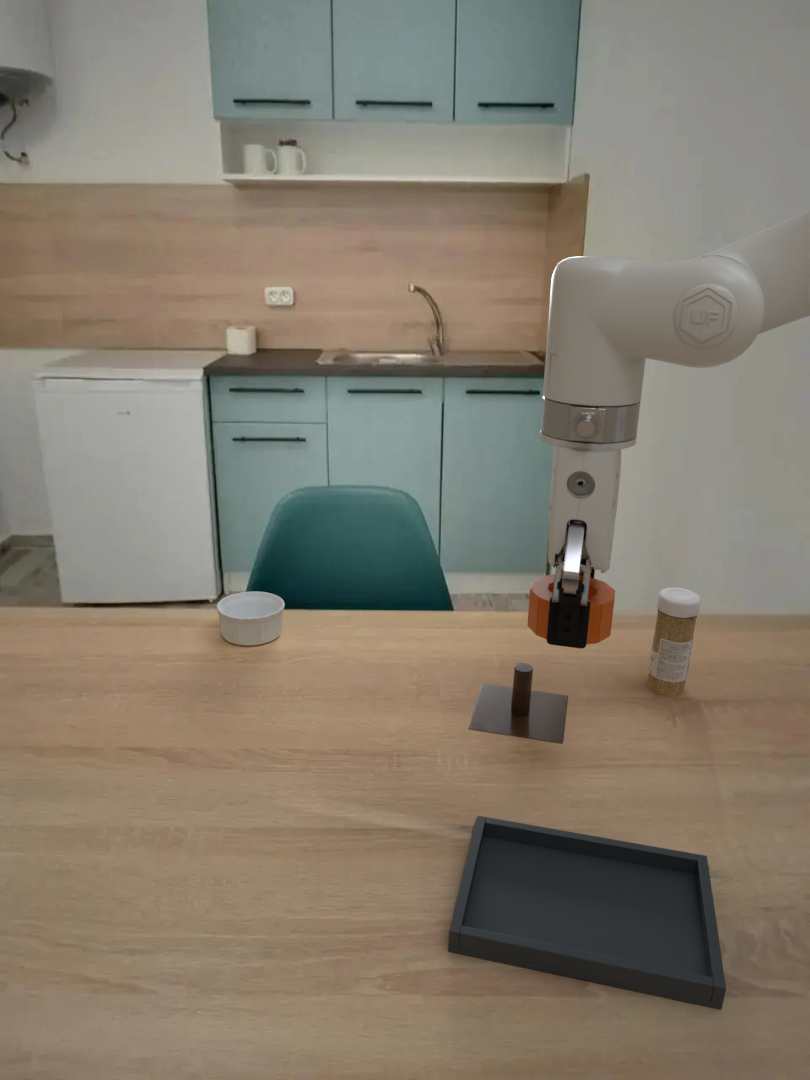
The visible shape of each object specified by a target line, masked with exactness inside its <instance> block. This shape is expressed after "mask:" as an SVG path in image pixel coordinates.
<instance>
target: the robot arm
mask: <svg viewBox="0 0 810 1080" xmlns="http://www.w3.org/2000/svg"><path fill="white" fill-rule="evenodd" d="M550 281H551V282H550V292H549V304H548V305H549V306H548V317H547V318H548V319H547V333H546V334H547V335H546V348H545V358H544V359H545V361H544V373H543V386H542V399H541V414H540V425H539V428H540V430H539V439H540V440H541V441H543V442H545V443H547V444H550V445H553V450H552V451H553V452H552V463H551V476H550V489H549V490H550V491H549V507H548V508H549V509H548V532H547V533H548V534H547V535H548V537H547V539H548V540H547V562H548V564H549V565H550V566H551V567H553V568H554V569H555V573H554V574H555V580H554V589H553V597H550V605H549V617H548V629H547V639H546V643H547V644H549V645H550V646H557V647H565V648H574V649H582V650H583V649H585V648H586V647H587V644H586V643H587V634H588V624H589V614H590V604H591V602H588V592H589V583H590V577H591V578H594V579H595V573H596V570H597V571H600V574H605V573H607V572H608V571H609V570H610V568H611V562H612V561H611V560H612V553H613V544H614V537H615V536H614V535H615V526H616V518H617V509H618V501H619V500H618V499H619V492H620V491H619V490H620V483H621V482H620V481H621V480H620V479H621V470H622V469H621V468H622V467H621V466H622V450H625V449H629V448H631V447H633V446H635V445H636V444H637V436H638V429H639V428H638V427H639V420H640V419H639V418H640V410H641V401H642V394H643V385H644V376H645V368H646V359H648V360H654V361H657V362H663V363H668V364H673V365H677V366H684V367H688V368H696V369H697V368H699V369H702V368H703V369H704V368H706V369H707V368H714V367H719V366H722V365H725V364H727V363H730V362H732V361H734V360H735V359H737V358H739V357H740V356H741V355H743V354H744V353H745V352H746V351H747V350H748V349H749V348H750V347H751V346H752V345H753V343H754V342H755V340H756V339H757V338H758V335H760V334H763V333H766V332H769V331H771V330H773V329H776V328H779V327H782V326H785V325H788V324H791V323H792V322H795V321H799V320H801V319H804V318H807V317H810V209H809V210H807V211H804V212H802V213H799V214H797V215H794V216H793V217H790V218H788V219H786V220H783V221H781V222H778V223H776V224H774V225H772V226H769V227H766V228H764V229H762V230H760V231H759V230H758V231H757V232H754V233H752V234H751V235H747V236H744V237H743V238H740V239H738V240H736V241H733V242H731V243H728V244H726V245H724V246H721V247H719V248H716V249H714V250H711V251H709V252H706V253H703V254H701V255H699V256H696V257H693V258H689V259H688V258H687V259H677V260H669V261H655V262H654V261H653V262H652V261H651V262H647V261H645V260H643V259H641V258H636V257H629V256H612V255H611V256H610V255H608V256H607V255H606V256H605V255H604V256H603V255H583V256H582V255H580V256H578V255H577V256H569V257H567V258H564V259H562V260H561V261H559V262H558V263H557V264H556V266H555V268H554V270H553V273H552V275H551V280H550ZM562 574H563V576H562ZM580 575H584V576H583V582H582V580H579V576H580ZM581 593H582V595H581Z"/></svg>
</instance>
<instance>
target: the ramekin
mask: <svg viewBox="0 0 810 1080" xmlns="http://www.w3.org/2000/svg"><path fill="white" fill-rule="evenodd" d="M285 606H286V603H285V601H284V599H283V598H282V597H281V596H279V595H277V594H274V593H270V592H266V591H253V590H252V591H242V592H237V593H232V594H230V595H227V596H225V597H223V598H221V599H220V600H219V601H218V602H217V604H216V612H217V614H218V621H219V627H220V634H221V636H222V637H223V639H224V640H225V641H227V642H229V643H231V644H233V645H238V646H245V647H246V646H247V647H248V646H261V645H263V644H268V643H270V642H272V641H274V640H277V638H278V637H279V636H280V635H281V634H282V631H283V617H284V611H285Z"/></svg>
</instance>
